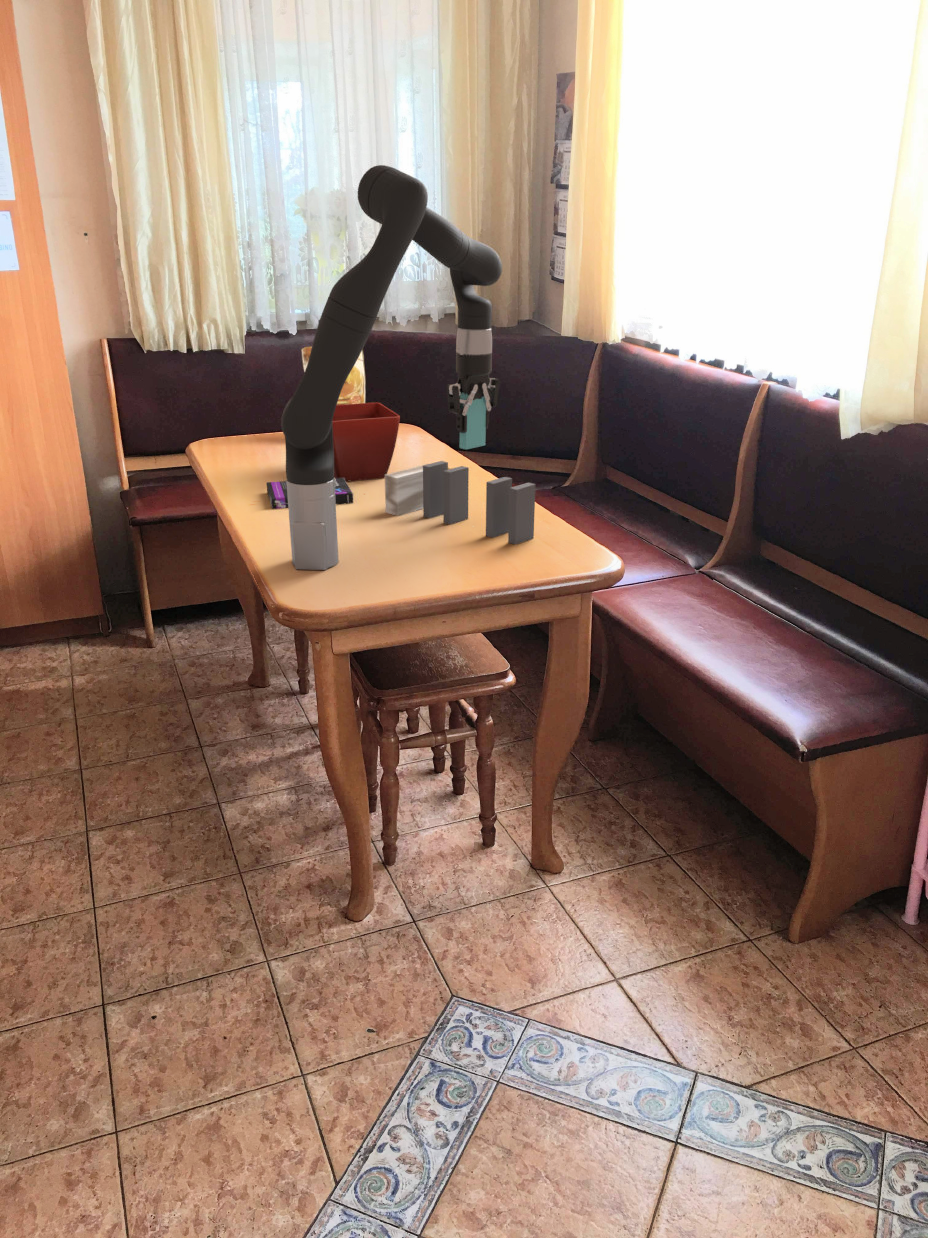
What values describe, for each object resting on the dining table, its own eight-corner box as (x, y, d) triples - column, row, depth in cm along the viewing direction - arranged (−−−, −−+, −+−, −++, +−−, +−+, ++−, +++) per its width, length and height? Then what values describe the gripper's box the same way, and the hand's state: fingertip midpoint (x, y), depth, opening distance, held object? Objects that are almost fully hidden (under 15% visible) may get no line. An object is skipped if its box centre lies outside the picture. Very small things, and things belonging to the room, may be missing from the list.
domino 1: (447, 512, 225) (447, 462, 220) (429, 518, 221) (429, 467, 216) (441, 511, 226) (441, 460, 222) (423, 516, 222) (422, 465, 218)
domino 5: (533, 538, 209) (535, 484, 204) (515, 544, 205) (516, 489, 200) (526, 536, 210) (528, 482, 205) (508, 542, 206) (509, 487, 201)
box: (271, 512, 228) (354, 505, 232) (270, 498, 226) (353, 491, 231) (267, 495, 240) (345, 488, 244) (266, 481, 239) (344, 475, 243)
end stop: (440, 503, 232) (440, 466, 228) (397, 516, 223) (396, 477, 219) (428, 500, 234) (428, 463, 231) (385, 512, 225) (384, 474, 222)
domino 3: (459, 447, 209) (460, 391, 205) (478, 443, 213) (480, 388, 208) (465, 449, 208) (466, 393, 203) (485, 445, 212) (486, 389, 207)
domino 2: (468, 518, 221) (468, 467, 216) (449, 524, 217) (449, 472, 212) (461, 516, 222) (462, 465, 218) (443, 522, 218) (443, 470, 214)
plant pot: (402, 480, 251) (401, 415, 244) (330, 487, 244) (327, 421, 238) (380, 462, 267) (379, 401, 260) (313, 469, 261) (309, 406, 254)
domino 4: (510, 531, 213) (512, 478, 208) (492, 537, 209) (493, 483, 204) (504, 529, 214) (505, 476, 209) (485, 535, 210) (486, 481, 205)
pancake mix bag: (304, 441, 290) (298, 345, 279) (365, 436, 296) (362, 342, 285) (309, 446, 284) (303, 348, 273) (371, 441, 291) (368, 345, 279)
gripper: (485, 345, 210) (483, 422, 216) (436, 351, 200) (436, 432, 207) (510, 349, 205) (508, 428, 211) (462, 355, 195) (461, 438, 202)
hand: (472, 429), depth 209 cm, fingers closed on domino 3, 6 cm apart
